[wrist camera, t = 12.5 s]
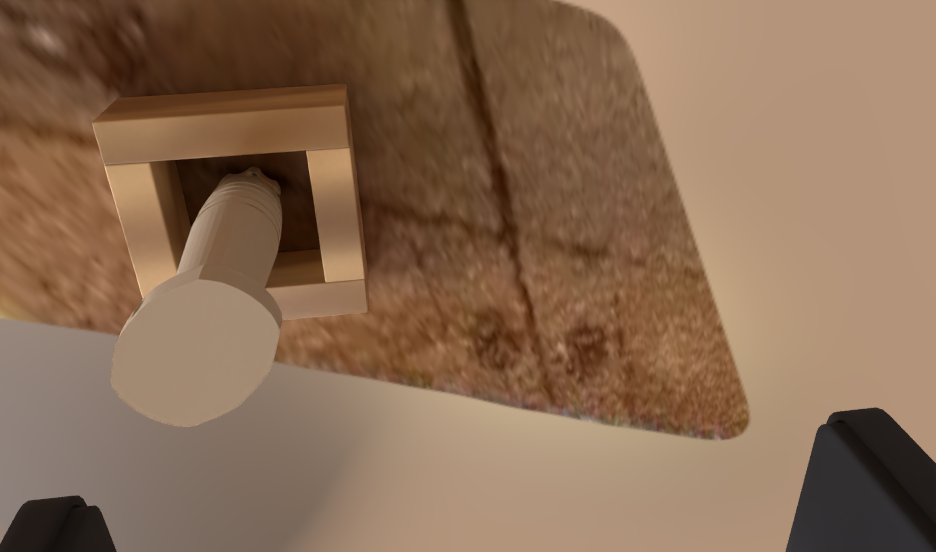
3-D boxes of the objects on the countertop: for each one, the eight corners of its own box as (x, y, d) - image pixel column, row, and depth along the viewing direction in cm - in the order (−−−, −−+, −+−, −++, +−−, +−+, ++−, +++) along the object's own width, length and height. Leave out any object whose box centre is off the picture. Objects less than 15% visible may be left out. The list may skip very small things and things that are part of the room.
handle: (326, 177, 39) (307, 332, 26) (254, 261, 40) (202, 445, 27) (248, 118, 37) (186, 254, 24) (176, 209, 38) (81, 382, 25)
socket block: (117, 97, 35) (90, 122, 32) (346, 83, 36) (344, 105, 33) (169, 293, 41) (151, 332, 37) (368, 276, 42) (368, 312, 38)
